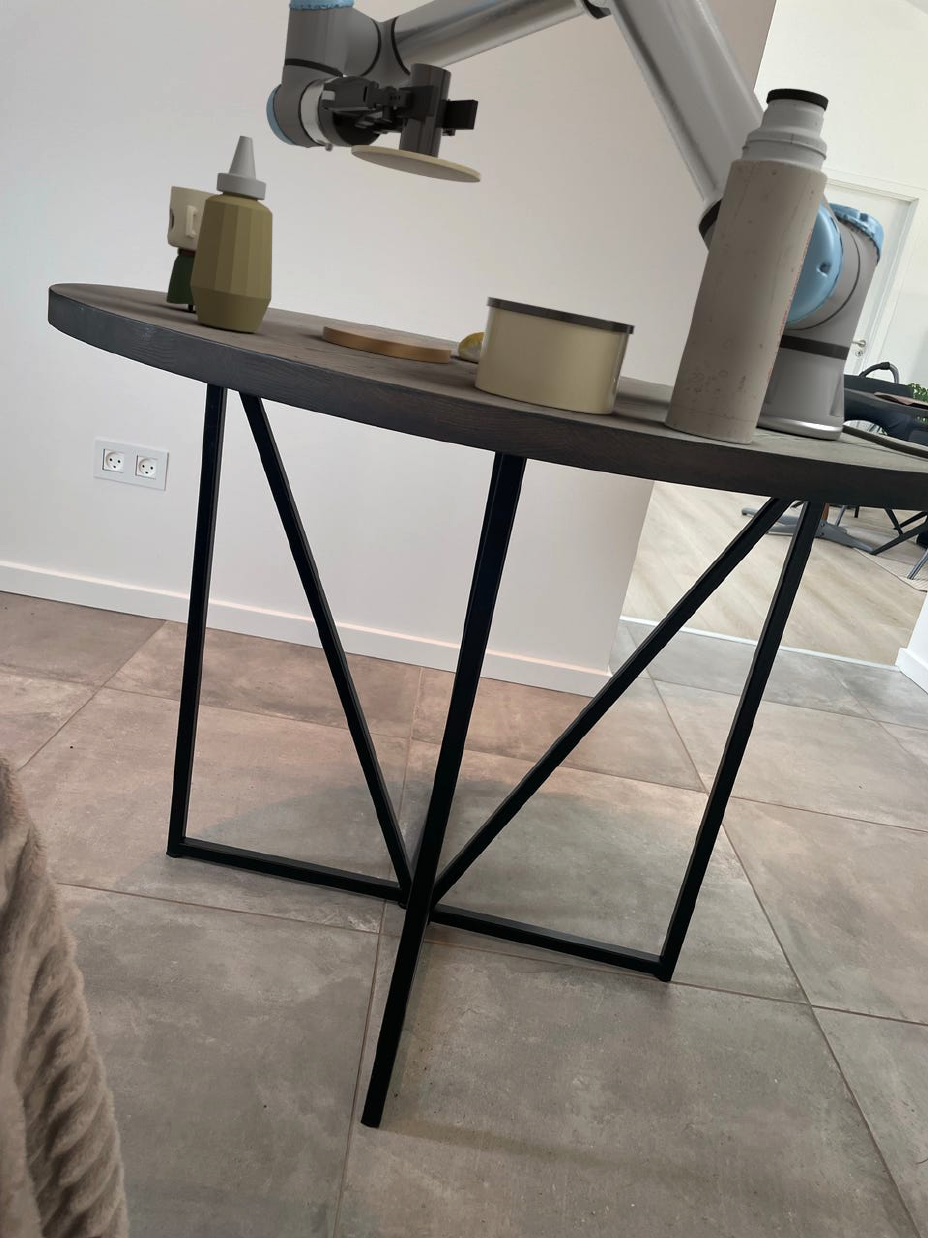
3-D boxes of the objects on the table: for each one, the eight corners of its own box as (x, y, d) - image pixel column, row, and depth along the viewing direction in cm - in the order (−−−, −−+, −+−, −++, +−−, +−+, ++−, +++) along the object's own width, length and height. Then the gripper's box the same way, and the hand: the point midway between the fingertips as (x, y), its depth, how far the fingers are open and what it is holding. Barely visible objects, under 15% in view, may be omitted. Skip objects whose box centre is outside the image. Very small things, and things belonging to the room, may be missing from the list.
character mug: (178, 305, 114) (187, 191, 110) (235, 316, 114) (246, 203, 110) (147, 306, 104) (156, 180, 100) (210, 318, 104) (222, 193, 100)
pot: (601, 403, 95) (619, 322, 92) (628, 422, 82) (651, 328, 79) (468, 378, 93) (483, 295, 91) (474, 393, 80) (492, 297, 78)
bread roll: (528, 369, 122) (534, 338, 121) (509, 370, 114) (516, 337, 113) (470, 357, 124) (475, 326, 123) (447, 356, 116) (453, 324, 115)
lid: (477, 187, 109) (493, 96, 106) (484, 173, 96) (502, 69, 92) (355, 161, 108) (368, 68, 105) (345, 144, 94) (359, 37, 91)
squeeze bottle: (279, 339, 95) (302, 147, 89) (203, 328, 90) (221, 124, 84) (249, 328, 101) (268, 147, 95) (175, 317, 96) (191, 126, 90)
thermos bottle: (746, 438, 88) (840, 113, 79) (755, 448, 81) (859, 90, 72) (663, 420, 89) (746, 97, 80) (664, 428, 82) (756, 73, 73)
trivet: (448, 357, 116) (450, 345, 116) (450, 367, 102) (453, 353, 102) (328, 334, 115) (330, 322, 114) (314, 341, 101) (316, 327, 100)
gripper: (399, 163, 119) (511, 167, 102) (274, 127, 109) (376, 124, 92) (409, 98, 117) (525, 91, 100) (282, 55, 106) (388, 39, 89)
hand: (453, 107), depth 96 cm, fingers closed on lid, 4 cm apart
